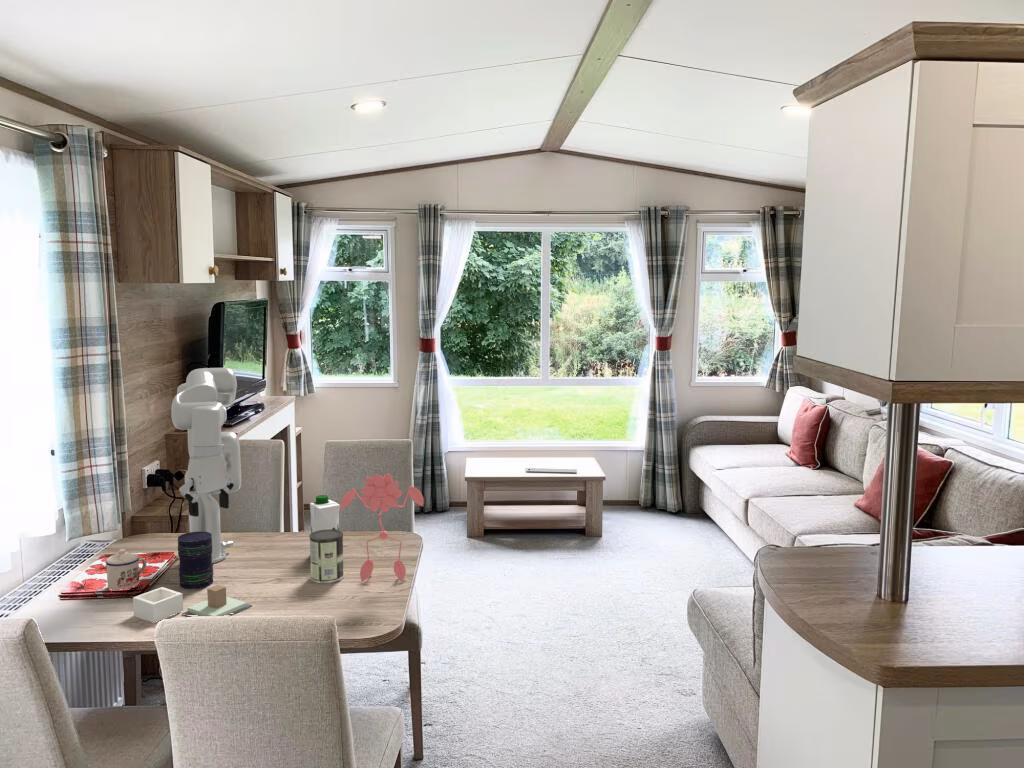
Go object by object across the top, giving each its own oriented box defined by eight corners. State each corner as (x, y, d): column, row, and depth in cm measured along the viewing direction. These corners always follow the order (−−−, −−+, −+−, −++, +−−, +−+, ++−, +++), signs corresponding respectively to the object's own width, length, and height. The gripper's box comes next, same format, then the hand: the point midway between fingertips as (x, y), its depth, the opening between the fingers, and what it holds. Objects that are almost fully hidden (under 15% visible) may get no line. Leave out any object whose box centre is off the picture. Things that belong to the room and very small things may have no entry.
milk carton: (331, 548, 271) (330, 493, 268) (343, 556, 264) (342, 498, 261) (308, 554, 265) (306, 497, 263) (319, 561, 258) (318, 503, 256)
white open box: (162, 605, 222) (162, 586, 221) (183, 612, 217) (182, 593, 217) (133, 616, 214) (132, 597, 213) (154, 623, 210) (153, 604, 209)
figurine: (344, 574, 247) (342, 467, 242) (425, 575, 247) (425, 468, 242) (334, 594, 232) (332, 480, 226) (420, 595, 232) (420, 481, 227)
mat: (223, 597, 227) (223, 596, 227) (251, 606, 221) (251, 605, 221) (182, 614, 215) (181, 613, 215) (210, 624, 209) (210, 622, 209)
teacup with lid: (118, 595, 228) (116, 557, 227) (100, 588, 233) (98, 551, 231) (155, 582, 238) (153, 545, 237) (137, 576, 243) (135, 540, 242)
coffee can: (331, 569, 251) (330, 527, 250) (350, 577, 244) (349, 534, 243) (303, 577, 244) (302, 534, 242) (322, 586, 237) (321, 541, 235)
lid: (220, 598, 226) (219, 578, 225) (246, 606, 220) (245, 585, 219) (187, 611, 216) (186, 590, 215) (214, 620, 211) (213, 598, 210)
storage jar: (175, 582, 239) (173, 535, 237) (208, 575, 245) (206, 529, 243) (184, 592, 231) (182, 543, 229) (218, 585, 237) (216, 537, 235)
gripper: (224, 444, 222) (226, 502, 224) (170, 454, 207) (172, 516, 209) (242, 447, 218) (244, 506, 220) (187, 458, 203) (190, 521, 205)
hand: (209, 511), depth 215 cm, fingers open, 9 cm apart
